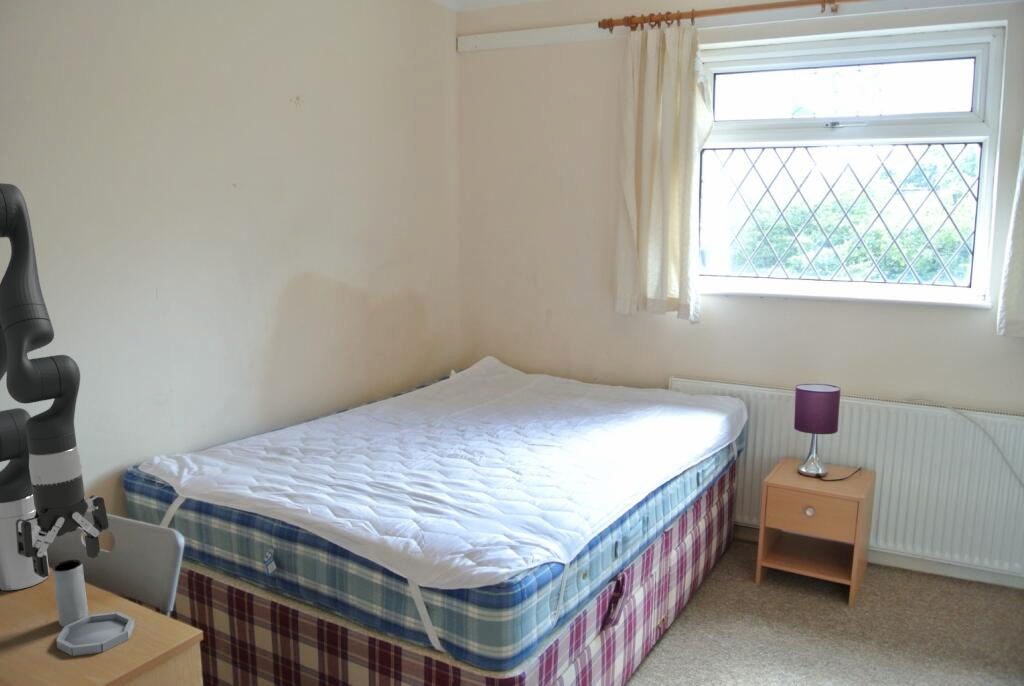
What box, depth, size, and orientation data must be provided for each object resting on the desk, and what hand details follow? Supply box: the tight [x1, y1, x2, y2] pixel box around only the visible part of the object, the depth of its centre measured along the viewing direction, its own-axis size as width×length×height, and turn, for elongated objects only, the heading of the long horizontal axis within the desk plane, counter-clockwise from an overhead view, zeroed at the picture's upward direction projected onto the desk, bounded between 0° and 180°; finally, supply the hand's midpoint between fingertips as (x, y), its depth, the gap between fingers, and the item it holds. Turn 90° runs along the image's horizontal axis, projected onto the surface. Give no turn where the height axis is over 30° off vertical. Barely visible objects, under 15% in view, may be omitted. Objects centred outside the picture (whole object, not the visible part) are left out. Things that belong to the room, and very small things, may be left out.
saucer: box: [55, 611, 135, 657], centre depth 138 cm, size 11×11×1 cm
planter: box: [51, 559, 89, 628], centre depth 143 cm, size 4×4×10 cm
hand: (68, 566), depth 141 cm, fingers open, 8 cm apart
